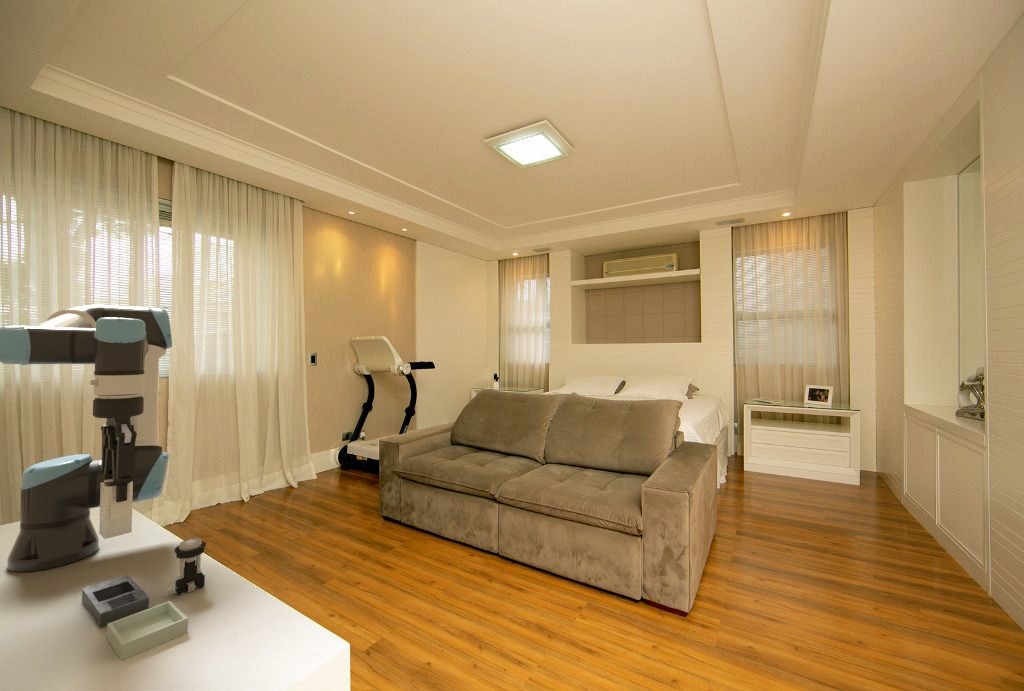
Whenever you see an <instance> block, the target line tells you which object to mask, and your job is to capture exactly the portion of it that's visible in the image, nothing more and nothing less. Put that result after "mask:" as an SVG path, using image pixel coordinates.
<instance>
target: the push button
mask: <svg viewBox="0 0 1024 691" xmlns="http://www.w3.org/2000/svg"><path fill="white" fill-rule="evenodd" d="M206 546H207V542H205V541H203V540H202V539H201V538H200V537H192V538H187V539H184V540H182V541H181V542H180V543H179V545H177V546H176V547H175V548H174V553H175V555H176V558H177V559H179V568H178V569H179V571H178V576H177V578H175V579H174V580H175V581H174V586H172V587H169V588H166V589H165V591H166V592H168V591H170V592H168V593H165V596H166V597H167V596H170V595H174V594H176V595H177V596H180V595H183V594H186V593H191V592H194V591H195V590H199V589H202V588H204V587H205V579H206V577H205V576H206V575H205V574H204V573H203V571H202V568H201V560H202V559H201V558H202V557H201V556H202V554H203V553H204V552H205V548H206ZM171 590H173V591H171ZM182 593H183V594H182Z"/></svg>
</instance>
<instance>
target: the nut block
mask: <svg viewBox="0 0 1024 691" xmlns="http://www.w3.org/2000/svg"><path fill="white" fill-rule="evenodd" d="M112 482H113V481H107V482H101V488H100V507H99V526H98V527H99V529H98V530H99V532H98V534H99V535H100V536H101V537H102V538H103V539H104V540H106V539H110V538H114V537H115V538H116V537H117V536H118V537H119V536H123V535H126V534H130V533H132V529H133V528H132V527H133V502H132V497H133V482H130V498H129V516H126V517H121V518H117V519H112V520H110V493H111V487H108V484H109V483H112Z"/></svg>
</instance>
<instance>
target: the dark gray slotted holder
mask: <svg viewBox="0 0 1024 691" xmlns="http://www.w3.org/2000/svg"><path fill="white" fill-rule="evenodd" d="M81 589H82V590H81V603H82V604H83V603H84V604H83V605H84V607H85V606H86V607H85V608H86V610H87V609H88V610H89V611H88V610H87V611H88V613H89V612H90V613H91V614H90V613H89V614H90V616H91V615H92V616H93V617H92V616H91V617H92V619H93V618H94V619H93V620H94V621H96V622H95V623H96V625H97V626H98V627H99V629H102V628H105V627H107V624H108V623H111V622H114V621H116V620H119V619H122V618H124V617H127V616H130V615H133V614H135V613H138V612H141V611H143V610H146V609H149V608H150V596H149V595H148V594H147V593H146V592H145V591H144V590H143V589H142V588H141V587H140V586H139V584H137V583H136V581H135V580H133V578H131V576H130V575H129V574H125V575H122V576H119V577H115V578H112V579H110V580H107V581H106V580H105V581H102V582H100V583H96V584H93V585H90V586H86V587H84V588H81Z"/></svg>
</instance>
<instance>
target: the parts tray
mask: <svg viewBox="0 0 1024 691" xmlns="http://www.w3.org/2000/svg"><path fill="white" fill-rule="evenodd" d="M188 624H189V617H188V616H186V615H185V614H184V612H182V611H181V610H180V608H178V606H176V605H175V604H174V603H173V602H172V601H171V600H168V601H166V602H163V603H160V604H157V605H155V606H152V607H149V609H146V610H143V611H141V612H138V613H135V614H133V615H130V616H127V617H124V618H122V619H119V620H116V621H114V622H111V623H108V624H107V626H106V640H107V641H108V642H109V644H110V645H111V647H112V648H113V650H114V652H115V653H116V654H117V655H118V657H119V659H120V660H121V661H124V660H126V659H128V658H131V657H133V656H135V655H138V654H140V653H142V652H145V651H147V650H149V649H151V648H154V647H156V646H159V645H161V644H163V643H166V642H168V641H171V640H172V639H176V638H177V637H180V636H182V635H185V634H186V633H189V632H188V630H189V629H188V628H189V625H188Z"/></svg>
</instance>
